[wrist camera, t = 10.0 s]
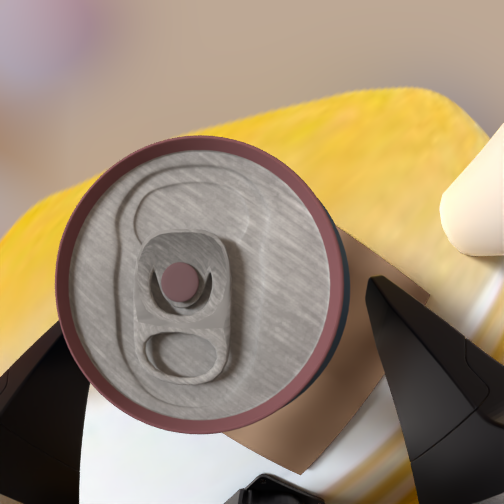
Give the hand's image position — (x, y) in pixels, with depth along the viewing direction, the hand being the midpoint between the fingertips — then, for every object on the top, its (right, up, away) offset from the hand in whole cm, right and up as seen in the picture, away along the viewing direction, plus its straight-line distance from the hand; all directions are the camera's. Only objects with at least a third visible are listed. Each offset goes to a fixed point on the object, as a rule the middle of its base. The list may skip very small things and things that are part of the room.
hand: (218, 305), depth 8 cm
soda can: (0, -1, +8) cm, 9 cm away
